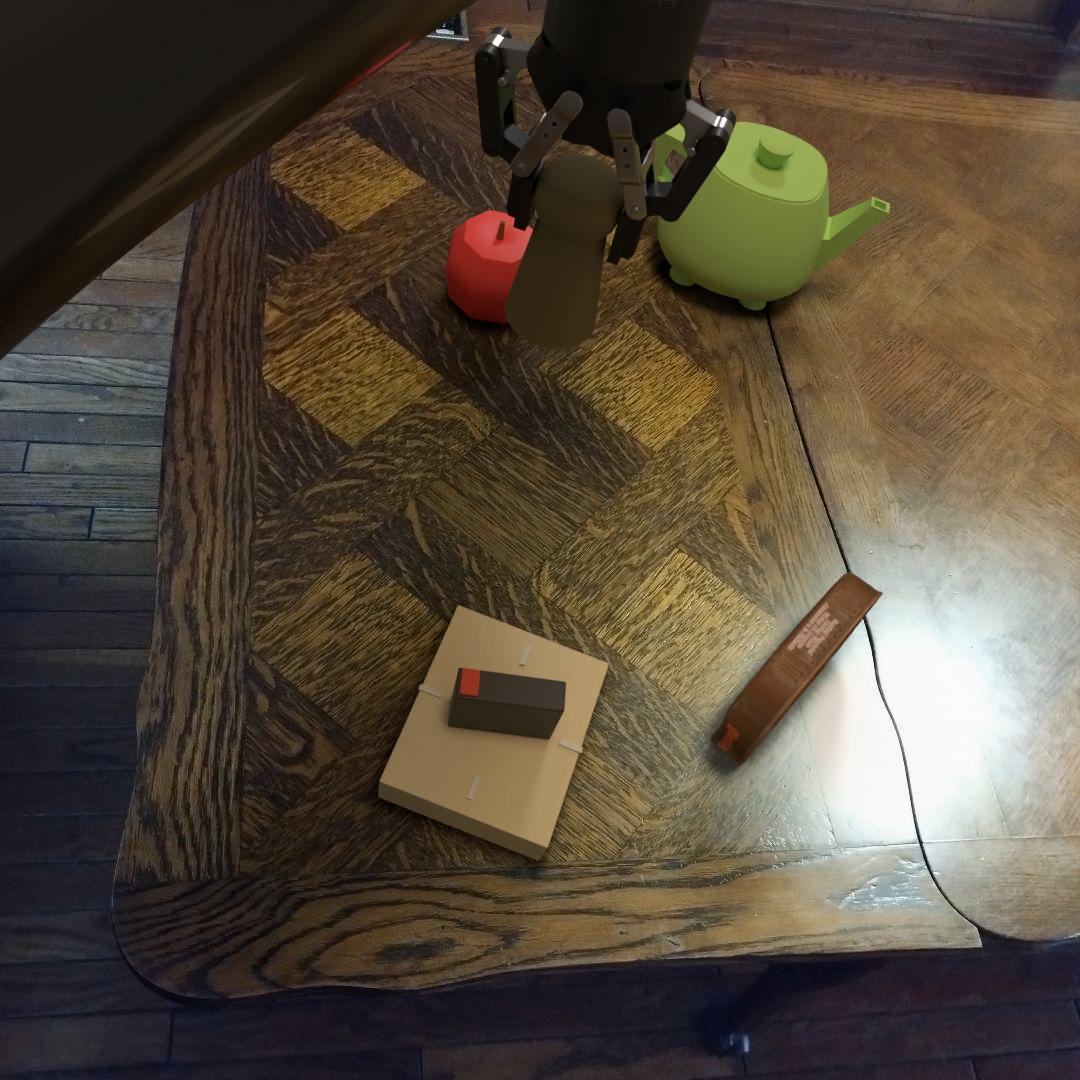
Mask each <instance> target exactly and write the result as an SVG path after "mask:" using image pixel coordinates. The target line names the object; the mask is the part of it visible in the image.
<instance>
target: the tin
mask: <svg viewBox="0 0 1080 1080" xmlns="http://www.w3.org/2000/svg"><path fill="white" fill-rule="evenodd" d="M883 595H884V593H883V591H879V590H878V589H876V588H875V587H873V586H872V585H871V584H869V583H868V582H866V581H865V580H864V579H862V578H861V577H859V576H858V575H857V574H855V573H853V572H846V573H844V574H842V576H840V577H839V578H838V579H837V581H835V582H834V584H833V585H832V586H831V587H830V588H828V590H827V591H826V593H825V594H824V595H822V597H821V598H820V599H819V600H818V601H817V602H816V604H815V605H814V606H813V607H812V608H811V609H810V610H809V611H808V612H807V614H805V616H804V617H803V618H802V619H801V620H800V621H799V623H797V625H796V626H795V627H794V628H793V629H792V630H791V631H790V633H789V634H788V635H787V636H786V638H785V639H783V641H782V642H781V643H780V644H779V646H778V647H777V648H776V649H775V651H773V653H772V654H771V655H770V656H769V658H768V659H766V661H764V663H763V664H762V666H761V667H760V668H759V669H758V670H757V672H756V673H755V674H754V675H753V676H752V678H751V679H750V680H749V681H748V683H747V684H746V685H745V686H744V688H743V689H742V690H741V691H740V693H739V694H738V696H737V697H736V698H735V699H734V700H733V702H732V703H731V704H730V707H729V708H728V709H727V711H726V713H725V714H724V716H723V719H722V722H721V724H720V725H719V727H718V728H717V729H716V730H715V731H713V733H712V734H711V735H710V741H711V742H712V743H713V745H715V746H716V748H717V749H719V750H720V751H722V753H724V754H725V755H726V756H727V757H728V758H729V759H731V760H732V761H733V762H734V763H735V764H736V767H738V768H741V767H742V766H743V765H744V764H746V763H747V761H748V760H749V759H750V758H751V757H752V756H753V754H754V753H755V752H756V750H757V749H758V748H759V746H761V744H762V743H763V742H764V741H765V740H766V739H767V737H768V736H769V735H770V734H771V732H773V730H774V729H775V728H776V727H777V725H778V724H779V723H780V722H781V721H782V719H783V718H784V717H785V716H786V714H787V713H788V712H789V711H790V710H791V709H792V707H793V706H794V705H795V704H796V702H797V701H798V700H799V699H800V698H801V696H802V695H804V693H806V691H807V690H808V688H809V687H810V686H811V685H812V683H813V682H814V681H815V680H816V679H817V677H819V675H820V674H821V673H822V671H823V670H824V669H825V668H826V667H827V665H828V664H829V662H830V661H831V660H832V659H833V657H835V655H836V654H837V653H838V651H840V649H841V648H842V647H843V645H844V644H845V643H846V641H847V640H848V639H849V638H850V636H851V635H852V634H853V632H854V631H855V630H856V629H857V627H858V626H859V625H860V624H861V622H862V621H863V619H864V618H865V617H866V616H867V614H868V613H870V611H871V610H872V609H873V607H874V606H875V604H876V603H877V602H878V601H879V599H881V597H882V596H883Z"/></svg>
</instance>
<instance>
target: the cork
mask: <svg viewBox="0 0 1080 1080" xmlns="http://www.w3.org/2000/svg"><path fill="white" fill-rule="evenodd" d="M534 205H535V213H536V217H537V219H536V221H535V223H534V226H533V228H532V229H533V231H532V234H531V236H530V239H529V242H528V244H527V247H526V249H525V252H524V255H523V257H522V260H521V262H520V265H519V267H518V270H517V273H516V275H515V278H514V280H513V283H512V285H511V288H510V291H509V293H508V296H507V298H506V303H505V308H504V310H505V315H506V319H507V321H508V322H507V323H508V324H509V326H510V327H511V329H512V331H513V332H515V333H516V334H517V335H518V336H519V337H521V338H522V339H523V340H525V341H527V342H528V343H531V344H533V345H535V346H537V347H542V348H545V349H549V350H550V349H551V350H567V349H570V348H573V347H576V346H580V345H582V343H584V342H586V341H587V340H589V339H590V337H591V335H592V334H593V332H594V331H595V329H596V323H597V317H598V316H597V315H598V308H599V300H600V293H601V284H602V278H603V277H602V276H603V268H604V262H605V261H604V260H605V253H606V245H607V237H608V235H610V234H612V233H613V231H615V229H616V227H617V223H618V220H619V217H620V214H621V212H622V209H623V207H624V205H625V204H624V197H623V190H622V185H621V184H619V183H618V178H617V171H616V168H614V167H613V166H611V165H610V164H609V163H607V162H606V161H604V160H602V159H601V158H598V157H595V156H592V155H588V154H584V153H569V154H564V155H560V156H558V157H555V158H554V159H552V160H551V161H550V162H549V163H548V164H547V165H545V167H544V169H543V171H542V172H541V174H540V175H539V177H538V180H537V183H536V188H535V193H534Z"/></svg>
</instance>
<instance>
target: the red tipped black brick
mask: <svg viewBox="0 0 1080 1080" xmlns="http://www.w3.org/2000/svg"><path fill="white" fill-rule="evenodd" d="M565 693H566V682H564V681H557V680H549V679H542V678H534V677H527V676H520V675H512V674H505V673H497V672H490V671H483V670H475V669H468V668H459V669H458V673H457V677H456V681H455V685H454V689H453V693H452V698H451V704H450V712H449V720H448V726H449V727H457V728H465V729H473V730H481V731H488V732H496V733H504V734H512V735H520V736H527V737H535V738H543V739H550V738H551V736H552V734H553V732H554V730H555V728H556V726H557V724H558V722H559V720H560V718H561V716H562V714H563V712H564V710H565Z"/></svg>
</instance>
